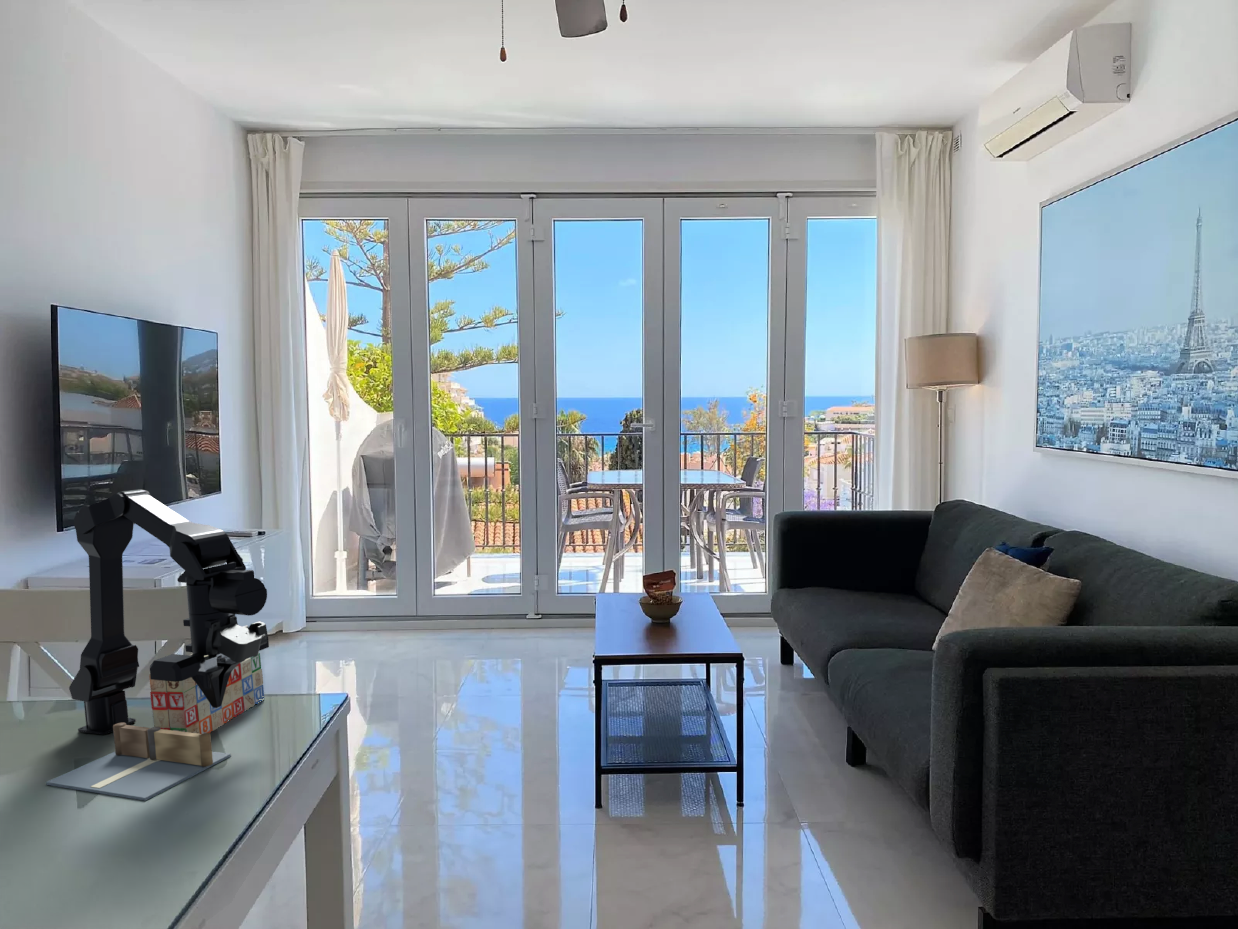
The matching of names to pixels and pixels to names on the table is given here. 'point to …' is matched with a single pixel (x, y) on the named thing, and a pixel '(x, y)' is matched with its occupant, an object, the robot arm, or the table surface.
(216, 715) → the stack of blocks
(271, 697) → the table surface
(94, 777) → the board
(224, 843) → the table surface
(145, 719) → the table surface
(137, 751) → the fixed fence section
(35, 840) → the table surface
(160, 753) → the folding fence panel
